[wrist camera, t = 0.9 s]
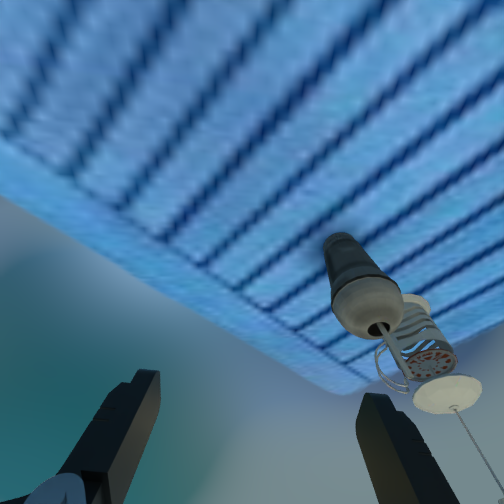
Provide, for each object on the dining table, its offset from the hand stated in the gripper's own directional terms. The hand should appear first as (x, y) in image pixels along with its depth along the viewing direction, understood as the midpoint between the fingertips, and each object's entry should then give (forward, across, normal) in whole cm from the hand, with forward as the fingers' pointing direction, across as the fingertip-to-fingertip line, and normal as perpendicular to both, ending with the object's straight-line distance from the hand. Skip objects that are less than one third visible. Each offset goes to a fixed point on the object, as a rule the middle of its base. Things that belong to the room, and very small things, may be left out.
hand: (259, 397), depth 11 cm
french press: (+32, -24, +15) cm, 43 cm away
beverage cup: (+29, -12, +2) cm, 32 cm away
